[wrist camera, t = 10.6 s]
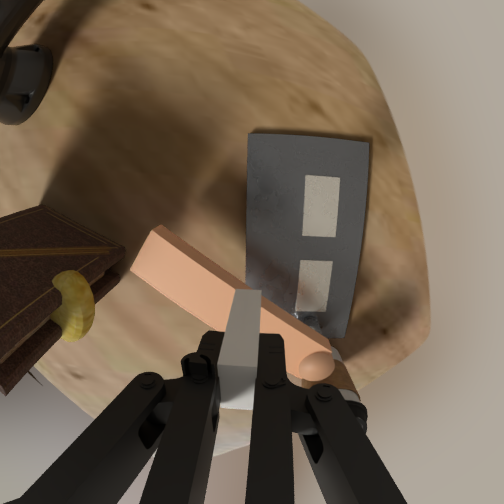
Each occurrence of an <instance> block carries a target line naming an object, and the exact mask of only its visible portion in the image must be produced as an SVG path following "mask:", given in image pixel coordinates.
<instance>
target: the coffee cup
mask: <svg viewBox="0 0 504 504" xmlns="http://www.w3.org/2000/svg"><path fill="white" fill-rule="evenodd" d="M331 349H332V356H333V360H334V363H335V368H334V371H333V372H332V373H331V375H330V376H328V377H327V378H325V379H323V380H319V381H308V380H305V379H304V378H302V388H307V389H309V388H311V387H312V386H313V385H316V384H318V383H327V384H331V385H333V386H335V387H336V388H337V389H338V390H339V391H340V392H341V394H342V396H343V397H344V399H345V400H346V402H347V404H348V405H349V407H350V409H351V410H352V412H353V414H354V415H355V417H356V419H357V420H358V422H359V424H360V425H361V427H362V429H363V430H364V432H365V434H366V431H367V423H366V421H367V417H368V416H367V409H366V407H365V406H364V405H363V404H362V403H360V401H361V400H360V396H359V394H358V392H357V390H356V388H355V386H354V384H353V381H352V379H351V377H350V375H349V373H348V371H347V369H346V367H345V365H344V363H343V361H342V359H341V356H340V354H339V352H338V351H337V349H336V348H334V347H332V346H331Z"/></svg>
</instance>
